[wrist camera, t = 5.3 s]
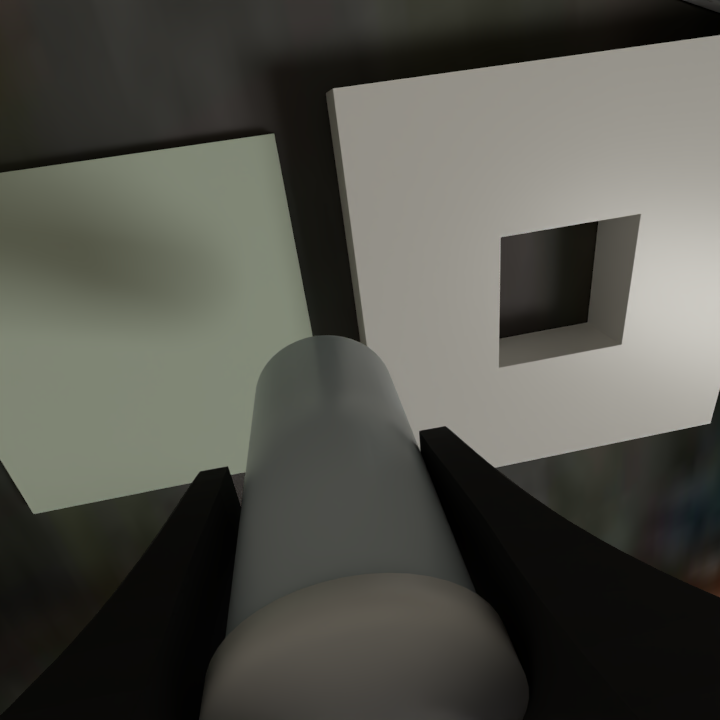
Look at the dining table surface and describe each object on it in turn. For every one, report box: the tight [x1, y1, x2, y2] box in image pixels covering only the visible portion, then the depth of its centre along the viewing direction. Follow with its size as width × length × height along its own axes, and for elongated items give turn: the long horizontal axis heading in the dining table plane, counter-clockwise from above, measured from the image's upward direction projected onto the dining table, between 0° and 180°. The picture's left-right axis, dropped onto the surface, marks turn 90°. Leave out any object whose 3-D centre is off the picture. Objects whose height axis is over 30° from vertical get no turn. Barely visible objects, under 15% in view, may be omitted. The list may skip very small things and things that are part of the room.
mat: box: [0, 133, 313, 514], centre depth 19 cm, size 14×14×1 cm
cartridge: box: [199, 335, 529, 720], centre depth 10 cm, size 4×4×8 cm
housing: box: [326, 35, 720, 468], centre depth 20 cm, size 16×16×2 cm
